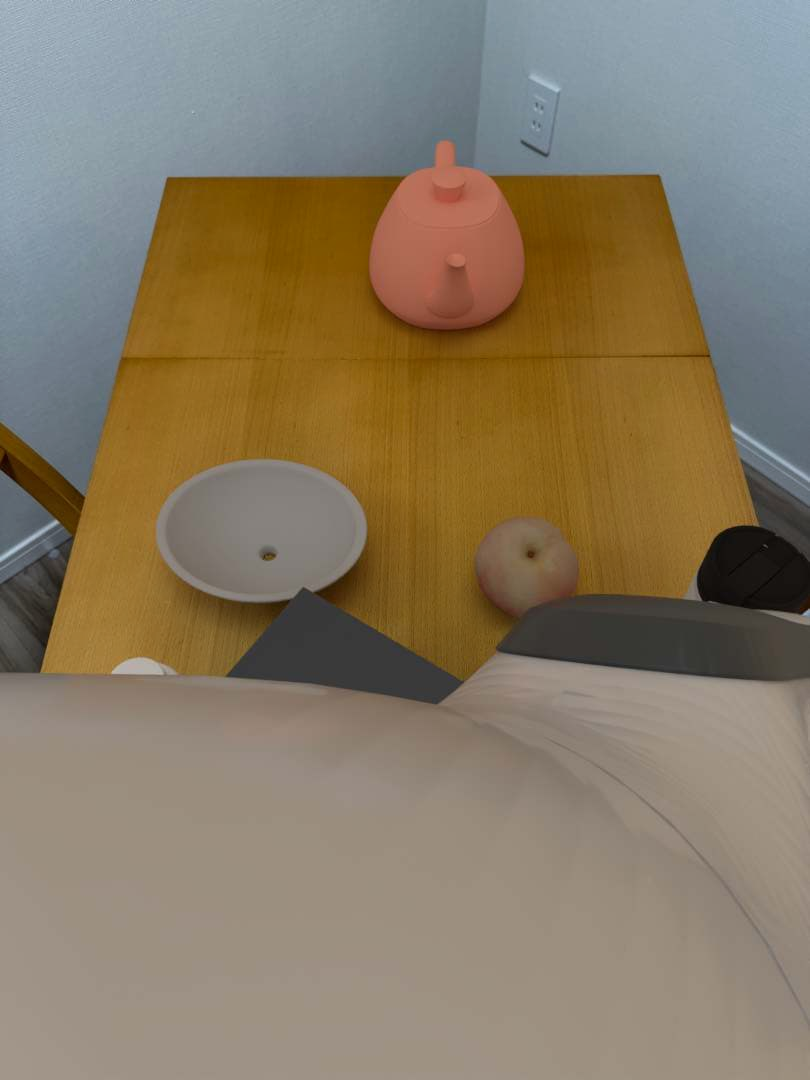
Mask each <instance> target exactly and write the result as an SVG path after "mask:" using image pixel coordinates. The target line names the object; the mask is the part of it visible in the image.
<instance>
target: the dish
mask: <svg viewBox="0 0 810 1080" xmlns="http://www.w3.org/2000/svg"><path fill="white" fill-rule="evenodd" d="M367 537H368V522H367V517H366V514H365V512H364V509H363V506H362V505H361V503H360V502H359V500H358V499H357V497H356V496H355V494H354V493H352V491H351V490H350V489H349V488H348V487H347V486H346V485H344V484H343V483H342V482H341V481H339V480H338V479H337V478H335V477H333V476H332V475H330V474H329V473H326V472H325V471H323V470H320V469H317V468H315V467H312V466H309V465H307V464H303V463H300V462H296V461H290V460H283V459H275V458H272V459H271V458H251V459H243V460H235V461H231V462H226V463H222V464H220V465H216V466H213V467H211V468H207V469H206V470H203V471H201V472H198V473H197V474H195V475H193V476H192V477H190V478H189V479H187V480H185V481H184V482H183V483H181V484H180V485H179V486H178V487H176V489H175V490H173V492H171V494H170V495H169V496H168V497H167V498H166V500H165V502H164V503H163V505H162V506H161V509H160V511H159V513H158V516H157V518H156V523H155V540H156V546H157V548H158V551H159V553H160V555H161V557H162V559H163V561H164V562H165V563H166V565H167V566H168V568H169V569H170V570H171V571H172V572H173V573H174V574H175V575H176V576H177V577H179V578H180V579H181V580H182V581H184V582H185V583H187V584H188V585H190V586H191V587H192V588H194V589H197V590H198V591H200V592H203V593H204V594H208V595H211V596H213V597H217V598H219V599H223V600H227V601H232V602H239V603H249V604H270V603H281V602H288V601H291V600H292V599H293V598H294V597H295V595H296V594H297V593H298V592H299V591H300V590H301V589H302V587H305V588H306V589H308V590H310V591H311V592H313V593H315V594H316V593H318V592H320V591H322V590H324V589H327V588H328V587H330V586H331V585H333V584H334V583H336V582H337V581H339V580H341V578H343V577H344V576H345V575H346V574H348V572H349V571H350V570H351V569H353V567H354V566H355V565H356V563H357V562H358V560H359V559H360V557H361V556H362V553H363V551H364V548H365V545H366V543H367ZM268 554H272V555H274V556H275V557H274V558H272V559H270V560H266V559H264V558H265V556H267V555H268Z"/></svg>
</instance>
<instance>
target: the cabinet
mask: <svg viewBox="0 0 810 1080" xmlns="http://www.w3.org/2000/svg"><path fill="white" fill-rule="evenodd" d="M224 677H232V678H245V679H258V680H271V681H284V682H297V683H310V684H316V685H323V686H329V687H336V688H343V689H349V690H356V691H362V692H369V693H376V694H382V695H388V696H394V697H399V698H404V699H409V700H415V701H420V702H425V703H431V704H436V705H437V704H439V703H440V702H441V701H443V700H444V699H445V698H447V697H448V696H449V695H450V694H452V693H453V692H454V691H455V690H456V689H458V688H459V687H460V686H461V685H462V684H463V683H464V682H465V681H464V680H461V679H459V678H458V677H456V676H455V675H454V674H452V673H450V672H448V671H446V670H445V669H443V668H441V667H439V666H438V665H436V664H434V663H432V662H431V661H429V660H428V659H426V658H424V657H422V656H421V655H419V654H418V653H416V652H414V651H412V650H411V649H409V648H407V647H406V646H404V645H403V644H401V643H400V642H398V641H395V640H394V639H392V638H391V637H389V636H387V635H386V634H384V633H382V632H380V631H378V629H375V628H374V627H372V626H370V625H369V624H368V623H365V622H364V621H362V620H361V619H359V618H357V617H355V616H354V615H352V614H351V613H349V612H347V611H345V610H343V609H341V608H340V607H339V606H337V605H335V604H333V603H331V602H330V601H328V600H327V599H325V598H323V597H321V596H320V595H318V594H316V592H315V593H313V592H311V591H310V590H308V589H306V588H305V587H302V589H301V590H300V591H299V592H298V593H297V594H296V595H295V597H294V598H293V599H292V600H289V602H288V603H287V605H286V606H284V608H283V609H282V610H281V611H280V612H279V614H278V615H277V616H276V618H274V619H273V621H272V622H271V623H270V624H269V625H268V626H267V628H266V629H265V630H264V631H263V632H262V633H261V635H260V636H259V637H258V638H257V639H256V640H255V642H254V643H252V645H251V646H250V647H249V649H247V650H246V652H245V653H244V654H243V655H242V657H241V658H240V659H238V661H237V662H236V663H235V665H234V666H233V667H232V668H231V669H230V670H229V671H228V673H227V674H226V675H225V676H224Z"/></svg>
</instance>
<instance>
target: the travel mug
mask: <svg viewBox="0 0 810 1080" xmlns="http://www.w3.org/2000/svg"><path fill="white" fill-rule="evenodd" d="M809 597H810V560H809V559H808V557H806V555H805V554H804V553H803V552H802V551H801V552H800V550H799V549H798V548H797V547H796V546H795V545H793V544H792V543H791V542H790V541H788V540H786V539H785V538H783V537H781V536H779V535H777V532H775V531H772V530H770V529H768V528H765V527H762V526H758V525H750V524H749V525H747V524H742V525H734V526H730V527H728V528H725V529H724V530H722V531H719V533H718V534H717V535H715V537H714V538H713V540H712V541H711V543H710V546H709V548H708V549H707V551H706V554H705V555H704V558H703V559H702V561H701V562H700V564H699V566H698V568H697V570H696V572H695V574H694V576H693V578H692V579H691V582H690V584H689V586H688V588H687V590H686V593H685V595H684V597H683V599H688V600H697V601H705V602H709V601H711V602H716V603H720V604H725V605H731V606H737V607H742V608H748V609H752V610H771V611H780V612H787V613H794V614H799V613H798V612H799V611H800V610H801V609H802V607H803V606H804V604H805V603H806V601H808V599H809Z"/></svg>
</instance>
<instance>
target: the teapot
mask: <svg viewBox="0 0 810 1080" xmlns="http://www.w3.org/2000/svg"><path fill="white" fill-rule="evenodd" d="M520 231H521V230H520V228H519V224H518V222H517V219H516V218H515V215H514V212H513V211H512V209H511V207H510V205H509V203H508V201H507V200H506V198H505V196H504V194H503V192H502V191H501V189H500V187H499V186H498V185H497V183H496V182H495V181H494V179H493V178H492V177H490V176H489V175H488V174H486V173H485V172H482V171H481V170H478V169H477V168H472V167H465V166H456V147H455V144H454V143H453V142H452V141H450V140H441V141H439V142H438V143H437V144H436V145H435V151H434V167H433V166H432V167H427V168H422V169H419V170H416V171H414V172H412V173H410V174H409V175H407V176H406V177H405V178H404V179H403V180H402V181H401V182H400V184H399V185H398V186H397V188H396V189H395V191H394V192H393V194H392V195H391V197H390V199H389V201H388V202H387V204H386V206H385V207H384V209H383V212H382V213H381V216H380V218H379V220H378V222H377V224H376V228H375V230H374V233H373V237H372V241H371V246H370V252H369V253H370V254H369V261H368V263H369V267H368V268H369V278H370V283H371V285H372V288H373V290H374V292H375V294H376V297H377V298H378V299H379V301H380V302H381V303H382V305H383V306H385V308H386V309H387V310H388V311H389V312H391V313H392V314H393V315H395V316H396V317H397V318H399V319H400V320H401V321H403V322H405V323H407V324H409V325H411V326H414V327H418V328H421V329H422V328H423V329H428V330H443V331H444V330H462V329H469V328H470V329H471V328H475V327H478V326H481V325H484V324H486V323H488V322H491V321H492V320H494V319H495V318H496V317H498V316H500V315H501V314H502V313H504V311H506V309H508V308H509V307H510V306H511V305H512V304H513V302H514V301H515V300H516V298H517V296H518V295H519V292H520V291H521V288H522V285H523V282H524V276H525V250H524V244H523V243H524V242H523V240H522V235H521V232H520Z"/></svg>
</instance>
